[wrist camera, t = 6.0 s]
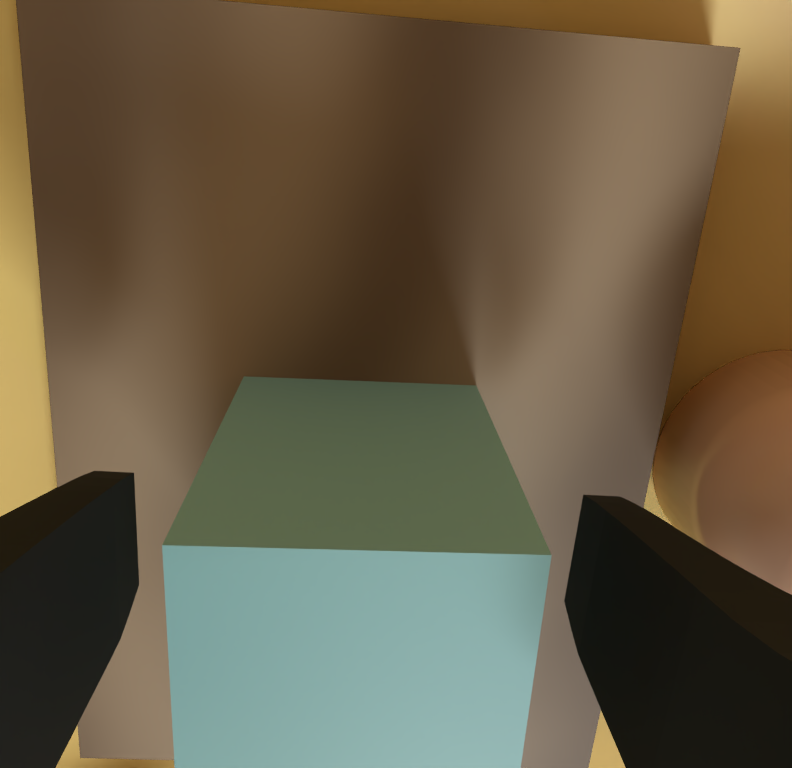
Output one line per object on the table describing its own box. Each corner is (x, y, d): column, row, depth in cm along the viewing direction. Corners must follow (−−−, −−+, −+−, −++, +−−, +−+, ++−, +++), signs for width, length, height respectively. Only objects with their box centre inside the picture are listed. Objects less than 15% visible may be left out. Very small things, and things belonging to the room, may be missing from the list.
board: (713, 53, 13) (740, 48, 12) (576, 737, 19) (587, 769, 18) (40, -8, 13) (14, -19, 12) (95, 724, 18) (80, 757, 17)
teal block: (476, 385, 14) (551, 555, 9) (457, 581, 16) (510, 838, 10) (243, 376, 14) (162, 544, 8) (246, 577, 15) (178, 837, 10)
